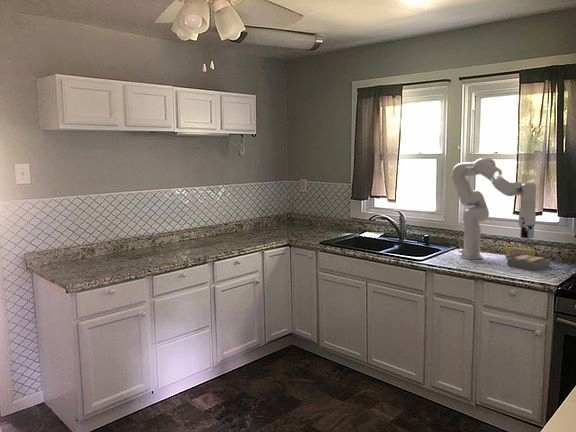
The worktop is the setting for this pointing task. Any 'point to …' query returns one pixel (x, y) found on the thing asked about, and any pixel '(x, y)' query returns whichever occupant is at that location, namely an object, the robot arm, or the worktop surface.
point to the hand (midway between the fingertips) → (527, 236)
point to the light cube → (529, 233)
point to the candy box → (518, 252)
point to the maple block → (529, 258)
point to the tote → (528, 264)
